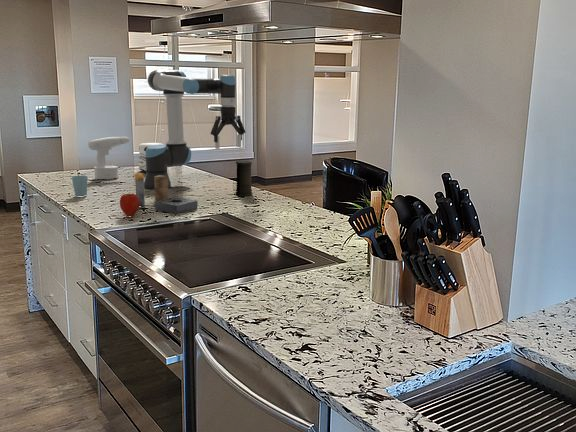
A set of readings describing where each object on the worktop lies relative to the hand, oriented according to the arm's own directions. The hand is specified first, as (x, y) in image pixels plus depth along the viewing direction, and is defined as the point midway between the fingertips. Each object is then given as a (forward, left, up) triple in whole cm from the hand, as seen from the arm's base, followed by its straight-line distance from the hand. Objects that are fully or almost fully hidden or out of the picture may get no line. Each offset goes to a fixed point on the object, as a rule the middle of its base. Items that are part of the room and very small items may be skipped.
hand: (228, 147), depth 295 cm
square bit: (-23, -26, -26) cm, 43 cm away
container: (+3, +9, -26) cm, 28 cm away
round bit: (-19, -44, -26) cm, 54 cm away
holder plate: (-1, -38, -26) cm, 46 cm away
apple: (-7, -61, -26) cm, 66 cm away
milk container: (-90, +31, -26) cm, 99 cm away
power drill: (-91, -2, -26) cm, 95 cm away
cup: (-60, -47, -26) cm, 80 cm away
